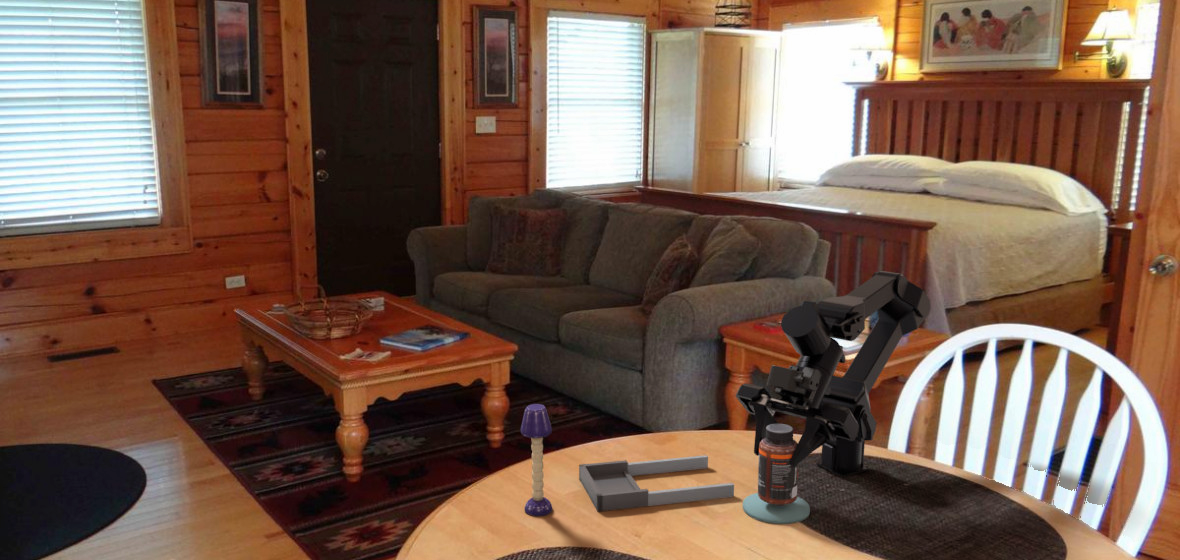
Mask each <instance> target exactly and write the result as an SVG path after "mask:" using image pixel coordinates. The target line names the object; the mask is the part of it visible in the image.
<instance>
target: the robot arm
mask: <svg viewBox="0 0 1180 560" xmlns="http://www.w3.org/2000/svg"><path fill="white" fill-rule="evenodd" d="M931 307H932V306H931V300H930V298H929V297H928V295H927V294H926V292H925V291H924V289H922V288H921V287H919V286H918V285H915V284H914V283H912V282H911V281H909V279H908V278H907V276H906V275H903V274H902V273H899V272H892V271H884V270H880V271H875V272H874V273H873V275H872V276H871V278H869V279H868V280H866V281H865V282H864V283H862V284H860V285H859V286H858V287H856V288H855V289H853V290H852V291H850V292H848V293H847V294H846V295H845V294H844V295H843V296H831V297H830V296H829V297H826V298H824V299H822V300H819V301H818V302H816V301H813V300H806V299H803V301H802V304H801V305H798V306H796V307H795V306H794V307H793V308H791V309H789V310H788V311H787V312H786V313H785V314H783V316H782V318H781V322H780V324H781V325H780V327H781V330H782V331H783V333H784V335H785V336H786V338H787V339H788V340H789V342H790V344H791V346H792V347H793V349H794V351H795V352H796V353H797V354H799V355H800V356H799V358H798V361H797V363H796V365H795V364H791V365H790V366H789V367H788V368H787V367H784V366H783V367H782V366H779V365H773V364H772V365H771V367H770V370H769V374H768V378H767V382H766V386H768V387H774V388H775V390H774V392H775V394H776V395H778V396H779V397H780V398H776V397H774V396H773V397H772V396H771V394H770V393H769V392H768V391H767V389H766V388H765V387H764V386H759V385H756V384H751V383H747V382H745V383H743V384H741V385H740V386H739V388H738V389H737V391H736V394H735V398H736V399H737V400H738V401H739V403H740V404H741V406H742V408H744V410H745V411H746V412H748V413H749V414H750V415H754V416H755V433H754V435H755V436H754V443H753V444H754V445H753V446H754V447H753V453H754V454H755V456H758V457H759V444H760V442H761V440H762V439H764V438H765V437H766V427H767V426H768V425H771V424H779V423H778V421H777V420H776V419H775V417H774V415H775V413H776V412H778V413H781V414H785V415H788V416H792V417H796V418H801V419H804V420H805V424H804V425H805V426H804V430H803V432H802V435H801V437H800V438H799V440H798V442H797V443H798V445H797V447H796V449H795V451H794V453H793V455H792V458H791V461H790V464H791V465H792V466H793V467H795V466H796V465H797V464H798V463H799V464H800V463H801V462H802V461H803V460H805V459H806V458H807V457H808V456H809V455H811V454H812V453H813V452H815V451H816V450H817V449H819V448H820V447H821V459H820V460H816V461H815V465H816V466H819V467H820V468H823V469H825V470H827V471H829V472H830V473H832V474H835V475H836V476H838V477H840V478H844V477H849V476H853V475H857V474H860V473H864V472H868V471H870V470H871V466H869V465H867V464H865V463H864V460H865V442H866V441H873V440H874V436H875V432H876V428H877V421H876V419H875V418H874V416H873V413H871V404H870V397H869V394H870V392H871V390H872V389H873V387H874V385H875V383H876V381H877V380H878V378H879V377H880V375H881V374H882V372H883V369H884V368H885V366H886V365H887V363H888V361H889V359H891V356H892V354H893V353H894V351H895V349H896V347H897V346H898V344H899V343H900V340H901V339H902V338H903V336H906V335H907V334H910V333H912V332H914V331H917V330H918V329H919V327H920V326H921V324H922V323H924V321H925V319H926V318H928V316H929V314H930V311H931ZM876 312H877V318H878V319H877V320H876V322H875V323H874V326H873V327H872V329H871V331H870V332H869V333H868V335H867V337H866V338H865V341H864V342H863V344H862V346H860V349H859V350H858V351H857V353H856V355H855V357H854V358H853V360H852V361H851V363H850V365H849V367H848V368H847V370H846V372H845V373H844V375H843V376H837V375H834V374H835V371H836V370H837V367H838V366H839V363H841V364H845V363H846V354H845V353H844V350H843V348H844V347H843V346H842V345H841V344H840V343H839V342H838V341H837V340H843V341H847V342H853V341H855V340H856V339H857V338H858V337H859V336H860V335H861V334H862V332H863V331H864V330H865V329H866V325H865V324H866V322H865V321H866V319H868V318H869V317H870V316H872V315H873V314H875V313H876ZM836 339H837V340H836Z"/></svg>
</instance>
